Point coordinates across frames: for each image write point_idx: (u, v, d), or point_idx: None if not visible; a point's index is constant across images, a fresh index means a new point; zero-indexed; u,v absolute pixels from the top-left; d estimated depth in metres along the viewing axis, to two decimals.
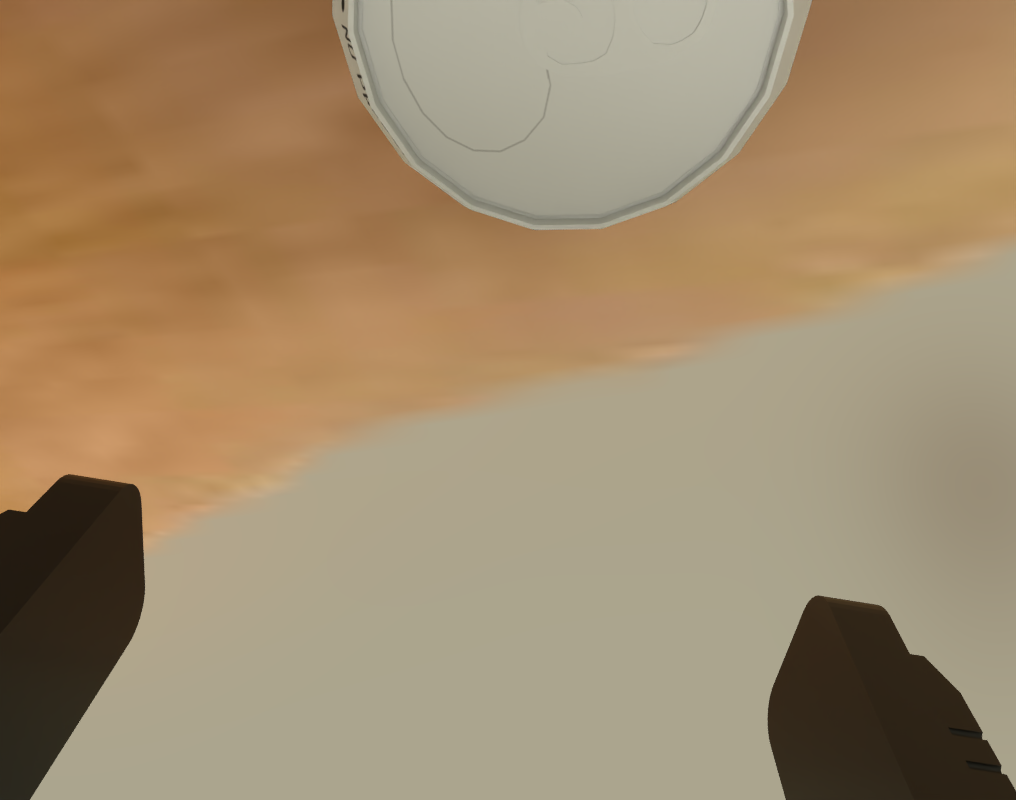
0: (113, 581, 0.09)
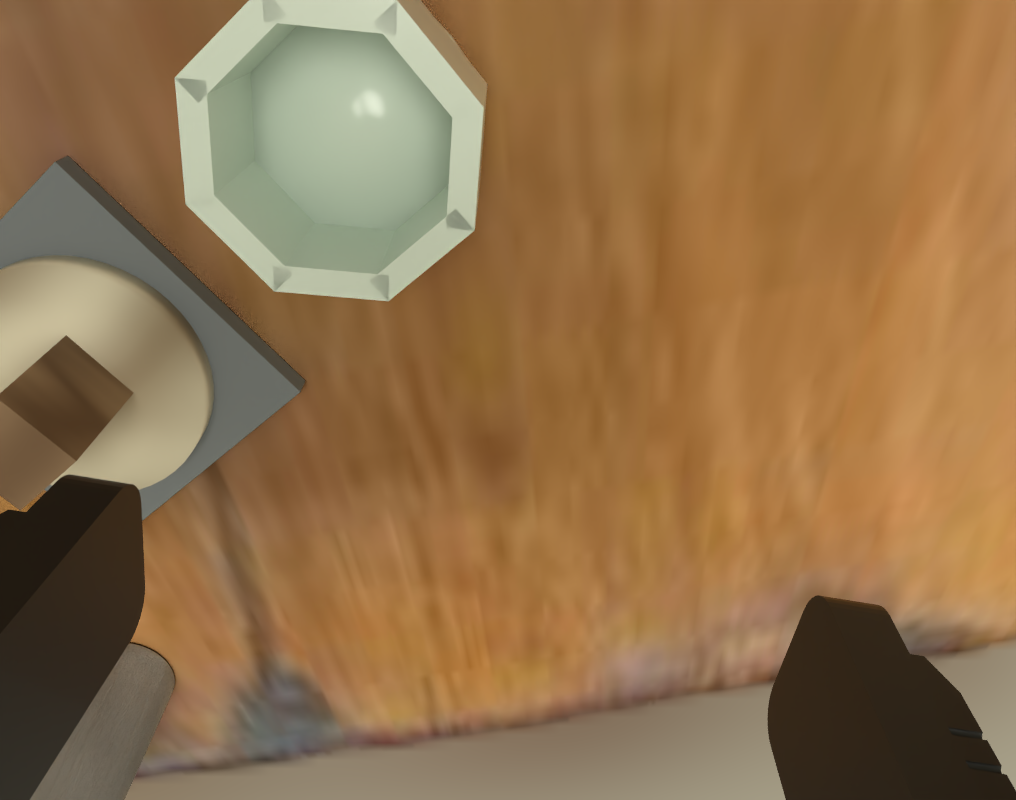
0: (113, 581, 0.09)
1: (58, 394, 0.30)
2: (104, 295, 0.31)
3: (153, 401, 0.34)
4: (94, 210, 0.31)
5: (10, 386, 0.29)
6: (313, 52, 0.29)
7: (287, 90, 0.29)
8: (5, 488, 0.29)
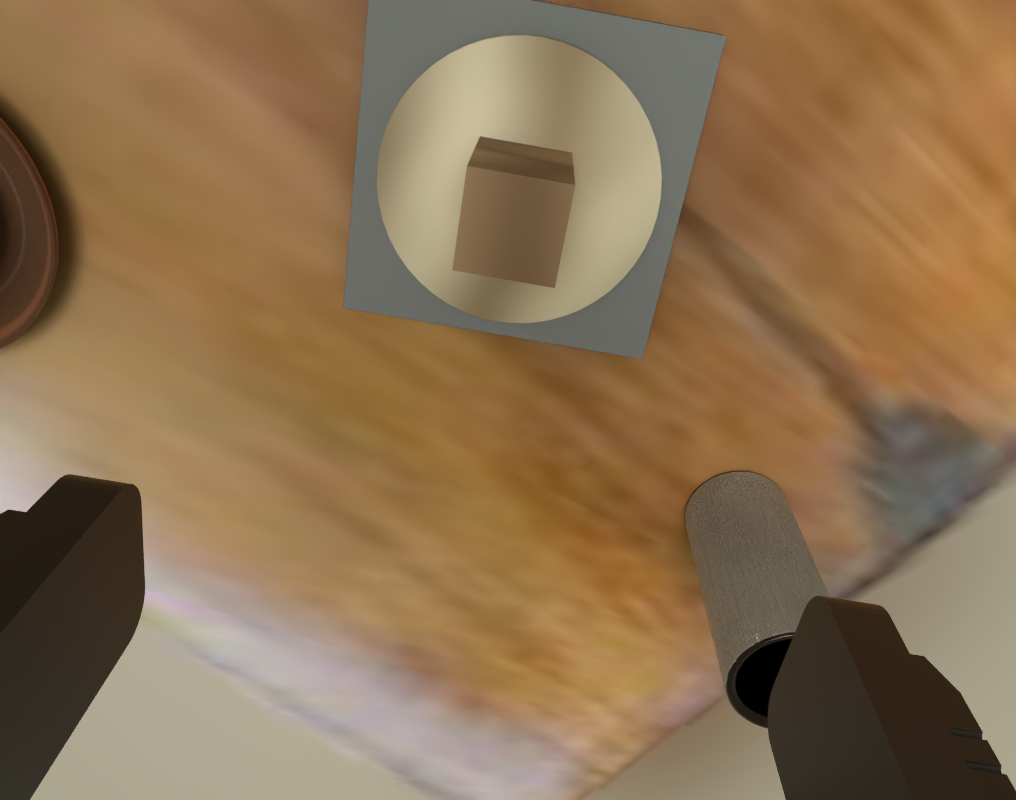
0: (113, 581, 0.09)
1: (513, 159, 0.27)
2: (488, 61, 0.28)
3: (594, 147, 0.29)
4: None
5: (471, 160, 0.25)
6: None
7: None
8: (528, 271, 0.26)
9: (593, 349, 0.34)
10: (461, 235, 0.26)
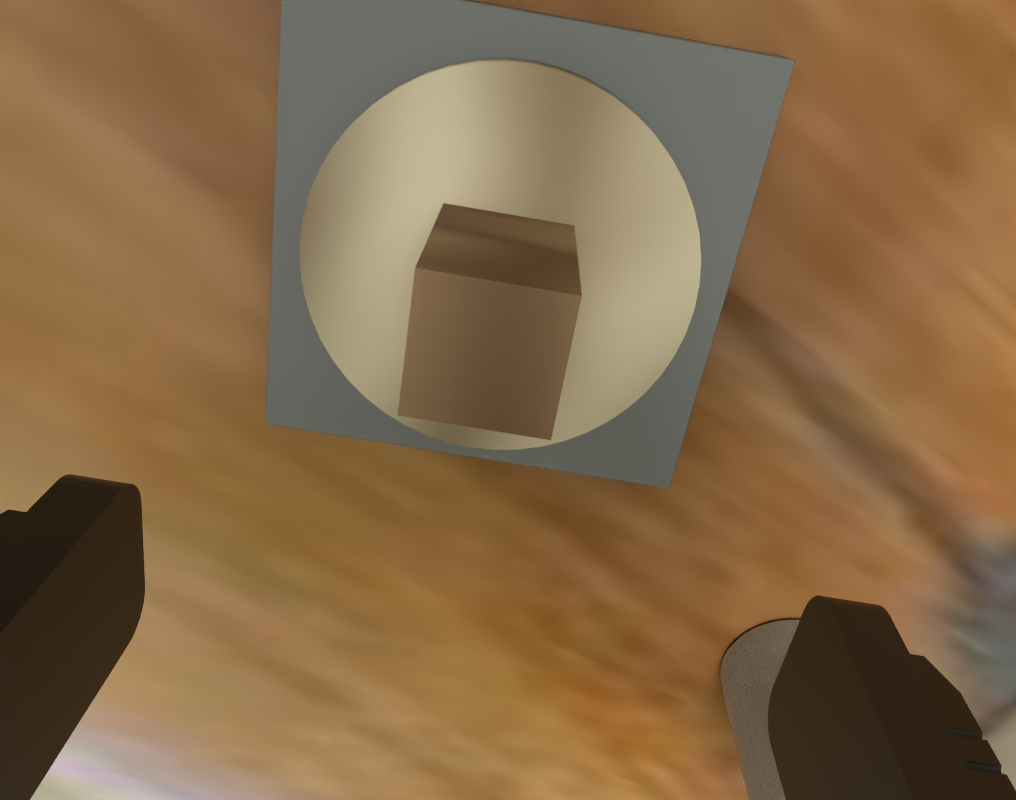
0: (113, 581, 0.09)
1: (489, 247, 0.18)
2: (453, 98, 0.19)
3: (606, 218, 0.21)
4: (368, 1, 0.20)
5: (423, 254, 0.17)
6: None
7: None
8: (511, 417, 0.17)
9: (603, 476, 0.25)
10: (408, 367, 0.17)
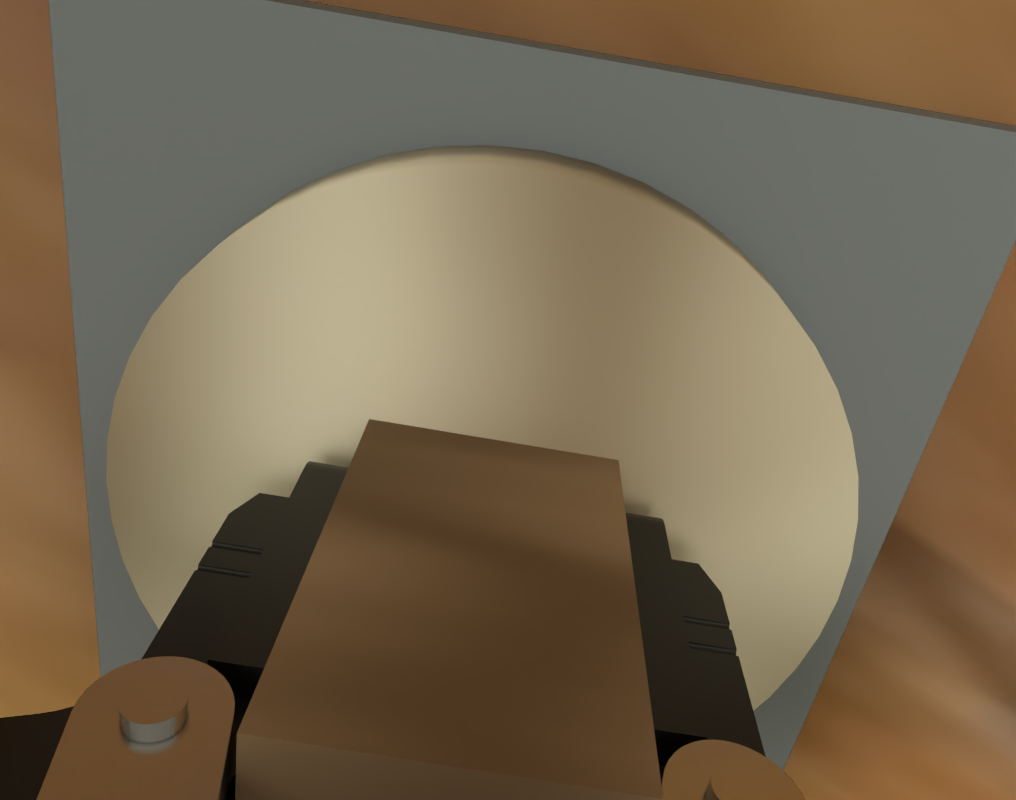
0: None
1: (443, 582, 0.08)
2: (380, 231, 0.10)
3: (681, 449, 0.11)
4: (218, 26, 0.10)
5: (277, 653, 0.07)
6: None
7: None
8: None
9: None
10: None
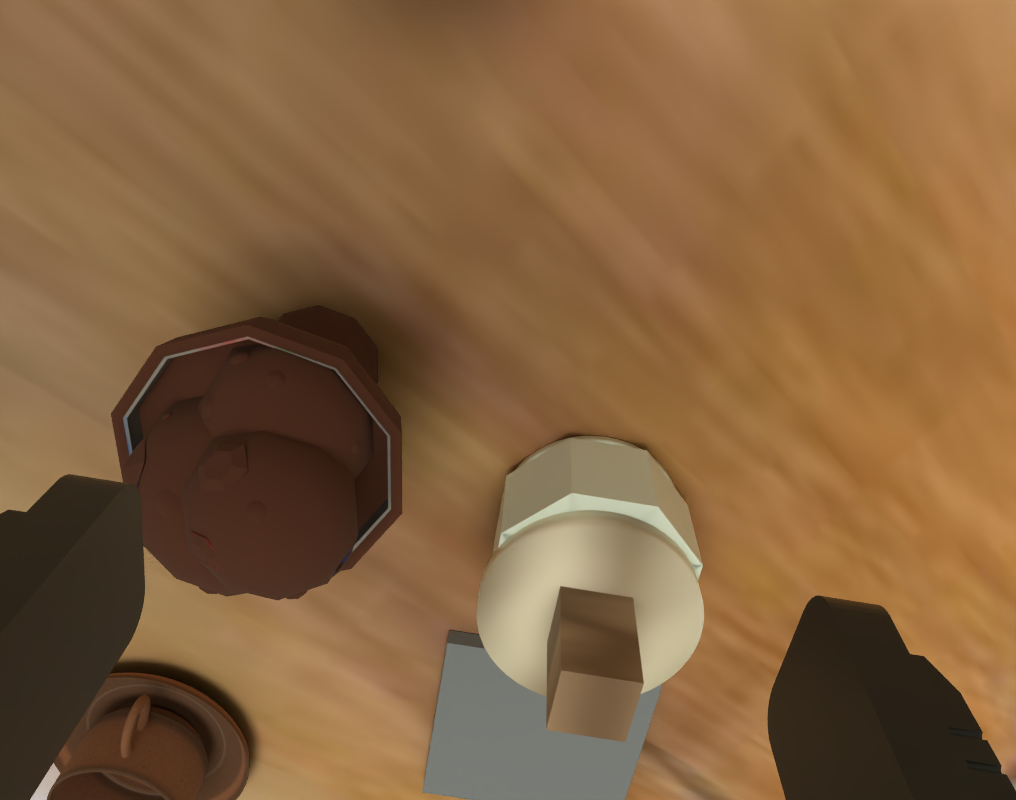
0: (113, 581, 0.09)
1: (592, 637, 0.34)
2: (569, 540, 0.36)
3: (651, 595, 0.37)
4: (482, 653, 0.46)
5: (562, 654, 0.33)
6: None
7: None
8: (605, 731, 0.34)
9: None
10: (554, 710, 0.33)
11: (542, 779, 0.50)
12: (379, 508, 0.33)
